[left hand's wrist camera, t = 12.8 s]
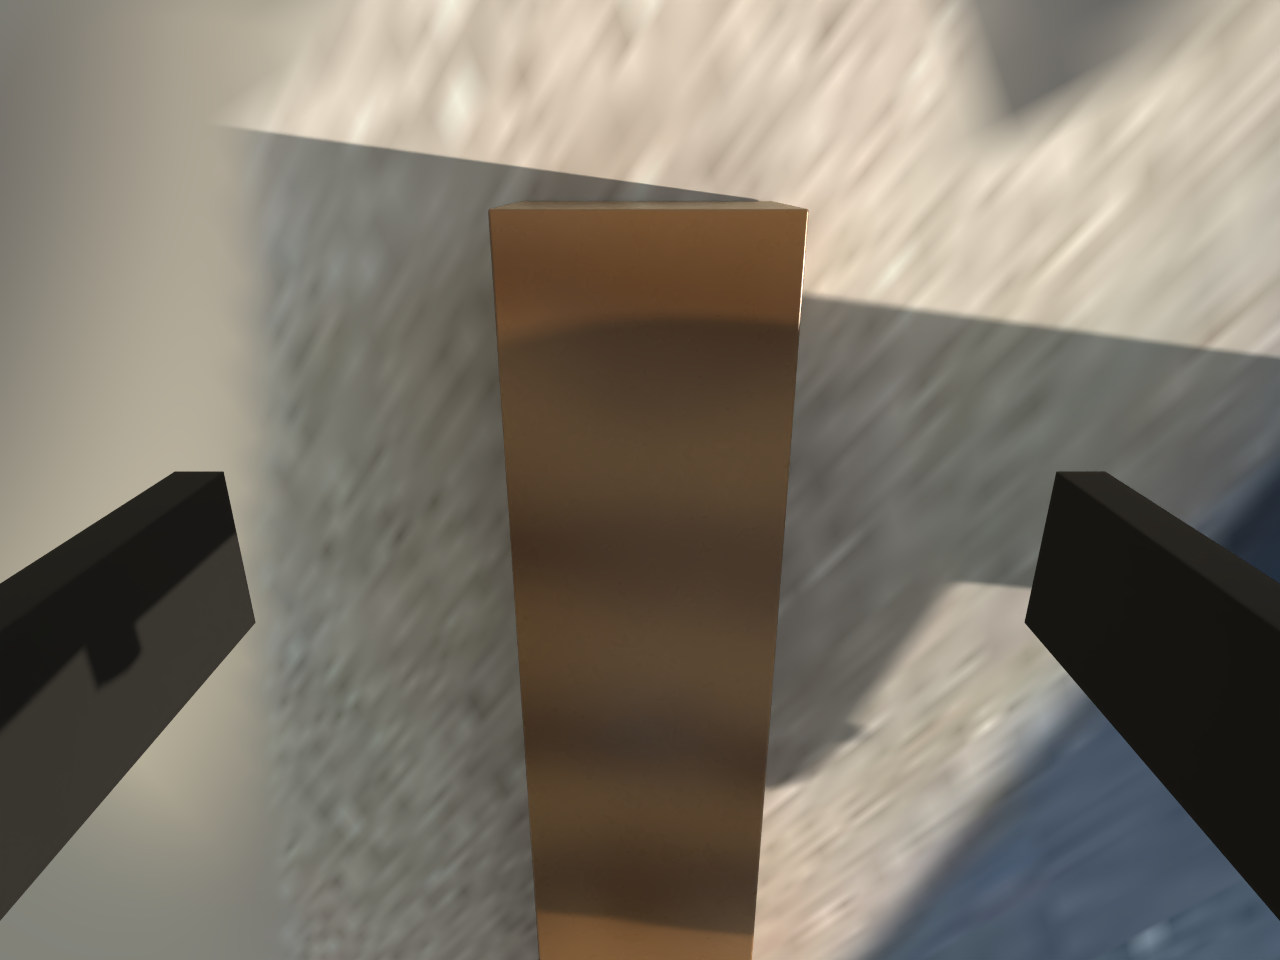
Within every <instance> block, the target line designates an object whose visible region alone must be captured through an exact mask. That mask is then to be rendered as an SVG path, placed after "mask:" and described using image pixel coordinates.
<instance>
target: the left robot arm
mask: <svg viewBox="0 0 1280 960" xmlns="http://www.w3.org/2000/svg"><path fill="white" fill-rule="evenodd" d="M254 624H255V618H254V614H253V609H252V604H251V599H250V595H249V590H248V585H247V580H246V576H245V571H244V566H243V562H242V557H241V552H240V547H239V543H238V538H237V533H236V528H235V524H234V519H233V514H232V509H231V505H230V500H229V495H228V491H227V486H226V481H225V476H224V472H174V473H172V474H170V475H169V476H167V477H166V478H164V479H163V480H161V481H160V482H158V483H156V484H155V485H153V486H152V487H150V488H149V489H147V490H146V491H144V492H142V493H141V494H139V495H138V496H136V497H135V498H133V499H131V500H130V501H128V502H127V503H125V504H124V505H122V506H121V507H119V508H117V509H116V510H114V511H113V512H111V513H110V514H108V515H107V516H105V517H103V518H102V519H100V520H99V521H97V522H96V523H94V524H92V525H91V526H89V527H88V528H86V529H85V530H83V531H82V532H80V533H78V534H77V535H75V536H74V537H72V538H71V539H69V540H68V541H66V542H64V543H63V544H61V545H60V546H58V547H57V548H55V549H54V550H52V551H50V552H49V553H47V554H46V555H44V556H43V557H41V558H39V559H38V560H36V561H35V562H33V563H32V564H30V565H29V566H27V567H25V568H24V569H22V570H21V571H19V572H18V573H16V574H15V575H13V576H11V577H10V578H8V579H7V580H5V581H4V582H2V583H0V920H1V919H2V918H3V917H4V916H5V914H6V913H7V912H8V911H9V910H10V909H11V907H12V906H13V905H14V904H15V903H16V902H17V900H18V899H19V898H20V897H21V896H22V895H23V893H24V892H25V891H26V890H27V889H28V888H29V886H30V885H31V884H32V883H33V882H34V880H35V879H36V878H37V877H38V876H39V875H40V873H41V872H42V871H43V870H44V869H45V868H46V867H47V865H48V864H49V863H50V862H51V861H52V859H53V858H54V857H55V856H56V855H57V854H58V852H59V851H60V850H61V849H62V848H63V847H64V845H65V844H66V843H67V842H68V841H69V840H70V838H71V837H72V836H73V835H74V834H75V833H76V831H77V830H78V829H79V828H80V827H81V826H82V824H83V823H84V822H85V821H86V820H87V819H88V817H89V816H90V815H91V814H92V813H93V812H94V810H95V809H96V808H97V807H98V806H99V805H100V803H101V802H102V801H103V800H104V799H105V798H106V796H107V795H108V794H109V793H110V792H111V791H112V789H113V788H114V787H115V786H116V785H117V784H118V782H119V781H120V780H121V779H122V778H123V777H124V775H125V774H126V773H127V772H128V771H129V770H130V768H131V767H132V766H133V765H134V764H135V763H136V761H137V760H138V759H139V758H140V757H141V756H142V754H143V753H144V752H145V751H146V750H147V749H148V747H149V746H150V745H151V744H152V743H153V742H154V740H155V739H156V738H157V737H158V736H159V735H160V733H161V732H162V731H163V730H164V729H165V728H166V726H167V725H168V724H169V723H170V722H171V721H172V719H173V718H174V717H175V716H176V715H177V713H178V712H179V711H180V710H181V709H182V708H183V707H184V705H185V704H186V703H187V702H188V701H189V699H190V698H191V697H192V696H193V695H194V694H195V692H196V691H197V690H198V689H199V688H200V687H201V685H202V684H203V683H204V682H205V681H206V680H207V678H208V677H209V676H210V675H211V674H212V673H213V671H214V670H215V669H216V668H217V667H218V666H219V664H220V663H221V662H222V661H223V660H224V659H225V657H226V656H227V655H228V654H229V653H230V652H231V650H232V649H233V648H234V647H235V646H236V645H237V643H238V642H239V641H240V640H241V639H242V638H243V636H244V635H245V634H246V633H247V632H248V631H249V629H250V628H251V627H252V626H253V625H254ZM1025 624H1026V625H1027V626H1028V627H1029V628H1030V629H1031V631H1032V632H1033V633H1034V634H1035V635H1036V636H1037V638H1038V639H1039V640H1040V641H1041V642H1042V643H1043V645H1044V646H1045V647H1046V648H1047V649H1048V650H1049V652H1050V653H1051V654H1052V655H1053V656H1054V657H1055V659H1056V660H1057V661H1058V662H1059V663H1060V664H1061V666H1062V667H1063V668H1064V669H1065V670H1066V671H1067V673H1068V674H1069V675H1070V676H1071V677H1072V678H1073V680H1074V681H1075V682H1076V683H1077V684H1078V685H1079V687H1080V688H1081V689H1082V690H1083V691H1084V693H1085V694H1086V695H1087V696H1088V697H1089V698H1090V700H1091V701H1092V702H1093V703H1094V704H1095V705H1096V707H1097V708H1098V709H1099V710H1100V711H1101V712H1102V714H1103V715H1104V716H1105V717H1106V718H1107V719H1108V721H1109V722H1110V723H1111V724H1112V725H1113V726H1114V728H1115V729H1116V730H1117V731H1118V732H1119V733H1120V735H1121V736H1122V737H1123V738H1124V739H1125V740H1126V742H1127V743H1128V744H1129V745H1130V746H1131V747H1132V749H1133V750H1134V751H1135V752H1136V753H1137V754H1138V756H1139V757H1140V758H1141V759H1142V760H1143V761H1144V763H1145V764H1146V765H1147V766H1148V767H1149V768H1150V770H1151V771H1152V772H1153V773H1154V774H1155V775H1156V777H1157V778H1158V779H1159V780H1160V781H1161V782H1162V784H1163V785H1164V786H1165V787H1166V788H1167V789H1168V791H1169V792H1170V793H1171V794H1172V795H1173V796H1174V798H1175V799H1176V800H1177V801H1178V802H1179V803H1180V805H1181V806H1182V807H1183V808H1184V809H1185V810H1186V812H1187V813H1188V814H1189V815H1190V816H1191V817H1192V819H1193V820H1194V821H1195V822H1196V823H1197V824H1198V826H1199V827H1200V828H1201V829H1202V830H1203V831H1204V833H1205V834H1206V835H1207V836H1208V837H1209V838H1210V840H1211V841H1212V842H1213V843H1214V844H1215V845H1216V847H1217V848H1218V849H1219V850H1220V851H1221V853H1222V854H1223V855H1224V856H1225V857H1226V858H1227V860H1228V861H1229V862H1230V863H1231V864H1232V865H1233V867H1234V868H1235V869H1236V870H1237V871H1238V872H1239V874H1240V875H1241V876H1242V877H1243V878H1244V879H1245V881H1246V882H1247V883H1248V884H1249V885H1250V886H1251V888H1252V889H1253V890H1254V891H1255V892H1256V893H1257V895H1258V896H1259V897H1260V898H1261V899H1262V900H1263V902H1264V903H1265V904H1266V905H1267V906H1268V907H1269V909H1270V910H1271V911H1272V912H1273V913H1274V914H1275V916H1276V917H1277V918H1278V919H1279V920H1280V583H1278V582H1276V581H1275V580H1273V579H1272V578H1270V577H1269V576H1267V575H1266V574H1264V573H1262V572H1261V571H1259V570H1258V569H1256V568H1255V567H1253V566H1251V565H1250V564H1248V563H1247V562H1245V561H1244V560H1242V559H1241V558H1239V557H1237V556H1236V555H1234V554H1233V553H1231V552H1230V551H1228V550H1227V549H1225V548H1223V547H1222V546H1220V545H1219V544H1217V543H1216V542H1214V541H1212V540H1211V539H1209V538H1208V537H1206V536H1205V535H1203V534H1202V533H1200V532H1198V531H1197V530H1195V529H1194V528H1192V527H1191V526H1189V525H1188V524H1186V523H1184V522H1183V521H1181V520H1180V519H1178V518H1177V517H1175V516H1173V515H1172V514H1170V513H1169V512H1167V511H1166V510H1164V509H1163V508H1161V507H1159V506H1158V505H1156V504H1155V503H1153V502H1152V501H1150V500H1149V499H1147V498H1145V497H1144V496H1142V495H1141V494H1139V493H1138V492H1136V491H1135V490H1133V489H1131V488H1130V487H1128V486H1127V485H1125V484H1124V483H1122V482H1120V481H1119V480H1117V479H1116V478H1114V477H1113V476H1111V475H1110V474H1108V473H1106V472H1056V476H1055V481H1054V486H1053V491H1052V495H1051V500H1050V505H1049V509H1048V514H1047V519H1046V524H1045V528H1044V533H1043V538H1042V543H1041V547H1040V552H1039V557H1038V562H1037V566H1036V571H1035V576H1034V580H1033V585H1032V590H1031V595H1030V599H1029V604H1028V609H1027V614H1026V618H1025Z"/></svg>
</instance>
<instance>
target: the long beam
mask: <svg viewBox="0 0 1280 960" xmlns="http://www.w3.org/2000/svg"><path fill="white" fill-rule="evenodd" d="M808 213H809V211H808V209H804V208H800V207H795V206H791V205H786V204H781V203H777V202H772V201H521V202H517V203H512V204H508V205H504V206H500V207H496V208H492V209H489V211H488V215H489V230H490V245H491V259H492V274H493V289H494V304H495V318H496V333H497V348H498V362H499V377H500V392H501V407H502V421H503V436H504V451H505V465H506V480H507V495H508V509H509V524H510V539H511V554H512V568H513V583H514V598H515V612H516V627H517V642H518V657H519V671H520V686H521V701H522V715H523V730H524V745H525V760H526V774H527V789H528V804H529V818H530V833H531V848H532V863H533V877H534V892H535V907H536V921H537V936H538V951H539V960H752V950H753V937H754V923H755V910H756V897H757V884H758V871H759V858H760V845H761V831H762V818H763V805H764V792H765V779H766V766H767V753H768V739H769V726H770V713H771V700H772V687H773V674H774V660H775V647H776V634H777V621H778V608H779V595H780V582H781V568H782V555H783V542H784V529H785V516H786V503H787V490H788V476H789V463H790V450H791V437H792V424H793V411H794V398H795V384H796V371H797V358H798V345H799V332H800V319H801V305H802V292H803V279H804V266H805V253H806V240H807V227H808Z"/></svg>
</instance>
